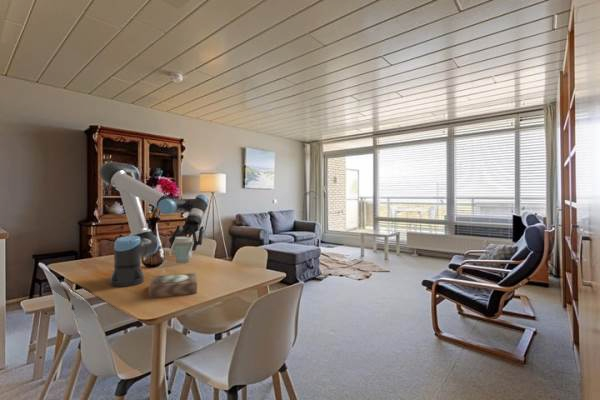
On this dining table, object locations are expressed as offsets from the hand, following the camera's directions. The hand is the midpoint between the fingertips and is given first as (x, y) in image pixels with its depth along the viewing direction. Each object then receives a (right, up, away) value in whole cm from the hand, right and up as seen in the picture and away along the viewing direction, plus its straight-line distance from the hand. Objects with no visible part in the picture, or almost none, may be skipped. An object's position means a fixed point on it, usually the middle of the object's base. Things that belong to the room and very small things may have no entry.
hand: (179, 255), depth 140 cm
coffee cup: (0, -4, +3) cm, 5 cm away
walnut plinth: (-4, -17, +2) cm, 17 cm away
